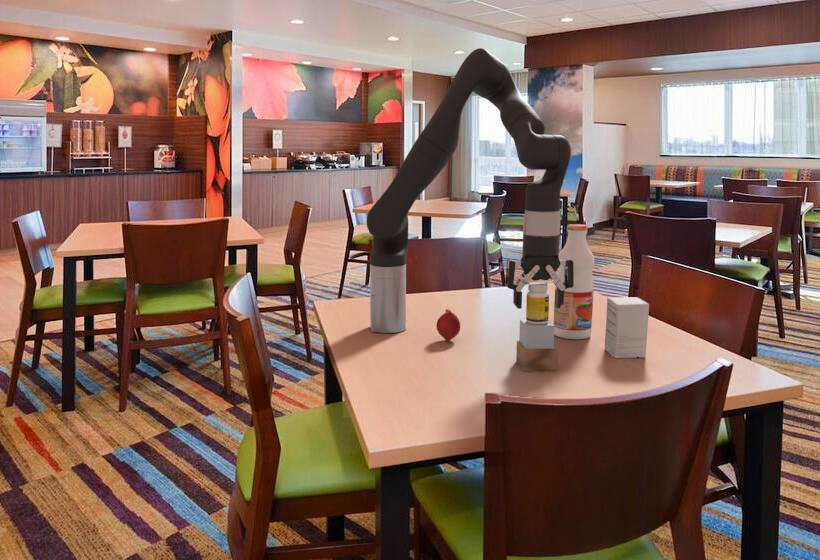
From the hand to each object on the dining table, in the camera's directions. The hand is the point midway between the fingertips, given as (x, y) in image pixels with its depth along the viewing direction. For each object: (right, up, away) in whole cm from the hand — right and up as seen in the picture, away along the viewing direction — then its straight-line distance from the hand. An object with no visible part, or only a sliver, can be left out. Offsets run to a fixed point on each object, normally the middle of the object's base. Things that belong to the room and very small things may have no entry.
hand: (538, 307), depth 143 cm
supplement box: (+22, -11, +12) cm, 28 cm away
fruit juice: (+14, -8, +27) cm, 31 cm away
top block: (0, -8, +2) cm, 8 cm away
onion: (-18, -9, +22) cm, 30 cm away
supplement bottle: (0, -3, +1) cm, 3 cm away
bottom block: (0, -13, +3) cm, 13 cm away
